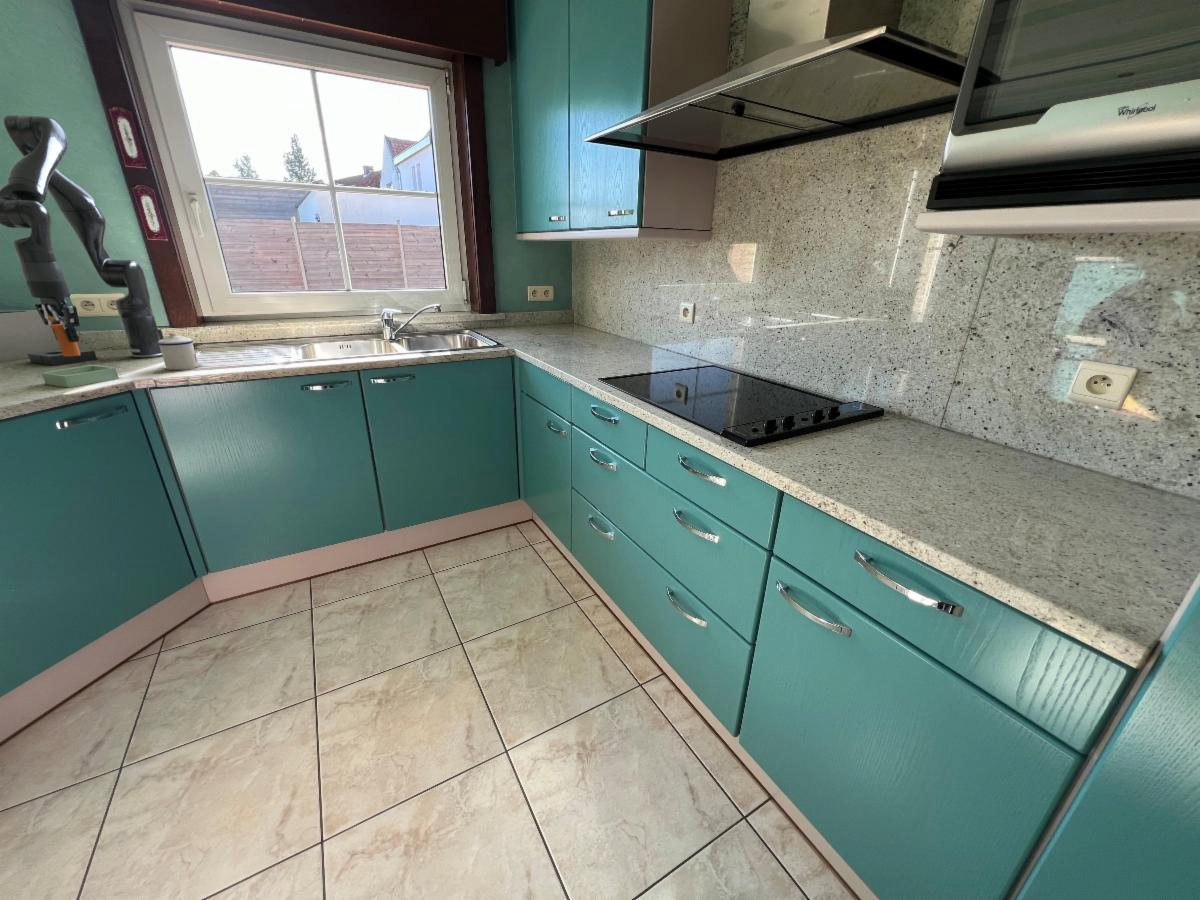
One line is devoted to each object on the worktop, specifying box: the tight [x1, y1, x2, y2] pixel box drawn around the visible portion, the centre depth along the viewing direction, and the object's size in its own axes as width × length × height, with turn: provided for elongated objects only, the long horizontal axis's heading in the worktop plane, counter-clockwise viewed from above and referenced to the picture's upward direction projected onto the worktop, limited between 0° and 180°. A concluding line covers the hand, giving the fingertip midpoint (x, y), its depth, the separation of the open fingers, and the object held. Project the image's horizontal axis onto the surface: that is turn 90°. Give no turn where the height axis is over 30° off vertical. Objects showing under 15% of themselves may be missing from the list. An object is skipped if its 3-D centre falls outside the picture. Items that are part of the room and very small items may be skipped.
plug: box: [49, 324, 81, 356], centre depth 142 cm, size 5×5×9 cm
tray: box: [41, 364, 119, 388], centre depth 146 cm, size 12×10×3 cm
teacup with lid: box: [158, 331, 200, 371], centre depth 164 cm, size 12×9×12 cm
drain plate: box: [27, 348, 98, 366], centre depth 170 cm, size 12×12×3 cm
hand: (68, 340), depth 142 cm, fingers closed on plug, 4 cm apart
